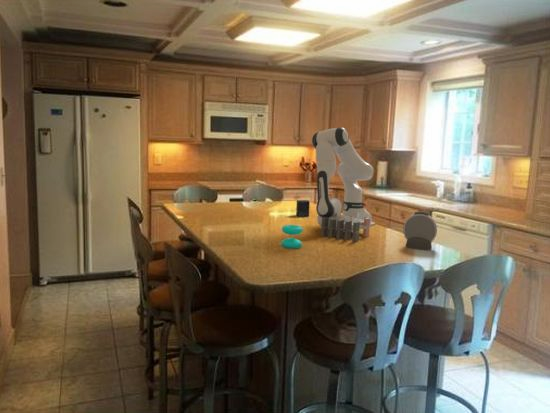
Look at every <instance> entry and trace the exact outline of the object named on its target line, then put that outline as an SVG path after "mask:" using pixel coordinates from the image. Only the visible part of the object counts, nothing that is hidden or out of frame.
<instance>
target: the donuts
mask: <svg viewBox="0 0 550 413" xmlns="http://www.w3.org/2000/svg"><path fill="white" fill-rule="evenodd" d="M281 231H282V232H283V233H284V234H286V235H291V236H292V235H293V236H294V235H300V234H302V233H303V228H302V226H300V225H296V224H287V225H283V226H282V227H281ZM280 244H281V247H283V248H285V249H293V250H294V249H299V248H301V247H302V246H303V243H302V241H301V240H299V239H298V238H291V237H287V238H284V239H283V240H281V242H280Z"/></svg>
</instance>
